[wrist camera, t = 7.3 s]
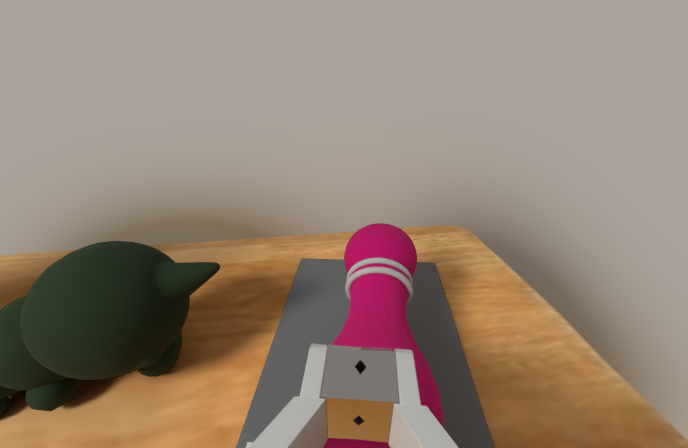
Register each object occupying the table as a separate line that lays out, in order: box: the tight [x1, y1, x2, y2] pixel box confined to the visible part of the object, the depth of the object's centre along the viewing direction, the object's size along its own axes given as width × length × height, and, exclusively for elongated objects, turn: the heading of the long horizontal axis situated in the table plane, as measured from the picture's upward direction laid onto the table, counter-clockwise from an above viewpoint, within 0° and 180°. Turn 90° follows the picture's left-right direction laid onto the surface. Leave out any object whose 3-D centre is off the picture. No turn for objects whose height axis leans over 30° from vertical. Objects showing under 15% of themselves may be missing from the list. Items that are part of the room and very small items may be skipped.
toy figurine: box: [0, 241, 220, 416], centre depth 20 cm, size 9×19×25 cm
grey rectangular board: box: [236, 259, 495, 448], centre depth 27 cm, size 22×16×1 cm
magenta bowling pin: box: [323, 224, 444, 448], centre depth 21 cm, size 7×7×20 cm
